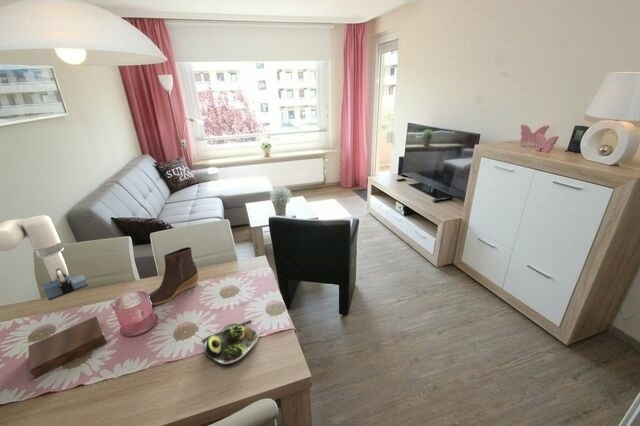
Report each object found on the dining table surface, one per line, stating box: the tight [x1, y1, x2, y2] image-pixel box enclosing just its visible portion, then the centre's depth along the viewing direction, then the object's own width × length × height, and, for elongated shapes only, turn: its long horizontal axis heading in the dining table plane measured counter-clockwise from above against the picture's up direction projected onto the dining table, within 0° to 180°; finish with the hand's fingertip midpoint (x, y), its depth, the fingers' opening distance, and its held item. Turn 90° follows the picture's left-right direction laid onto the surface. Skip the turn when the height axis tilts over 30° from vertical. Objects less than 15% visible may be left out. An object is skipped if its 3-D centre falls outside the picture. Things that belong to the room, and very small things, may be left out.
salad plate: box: [200, 319, 259, 367], centre depth 104 cm, size 19×18×5 cm
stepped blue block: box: [42, 274, 89, 301], centre depth 113 cm, size 12×5×5 cm, turn 136°
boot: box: [148, 246, 199, 306], centre depth 129 cm, size 9×24×20 cm, turn 134°
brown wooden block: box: [28, 315, 108, 379], centre depth 105 cm, size 20×14×4 cm
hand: (67, 289), depth 114 cm, fingers closed on stepped blue block, 5 cm apart
